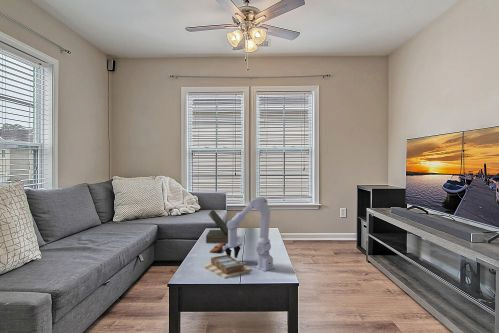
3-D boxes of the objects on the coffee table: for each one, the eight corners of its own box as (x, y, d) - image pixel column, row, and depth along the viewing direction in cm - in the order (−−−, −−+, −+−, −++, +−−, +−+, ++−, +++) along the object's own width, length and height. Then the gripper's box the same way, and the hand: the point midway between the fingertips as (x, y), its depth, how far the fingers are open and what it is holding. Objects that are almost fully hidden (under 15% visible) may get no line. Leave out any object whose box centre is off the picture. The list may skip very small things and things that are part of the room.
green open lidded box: (229, 243, 239) (229, 213, 239) (205, 243, 240) (205, 213, 240) (231, 236, 262) (231, 208, 262) (209, 236, 263) (210, 208, 262)
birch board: (251, 270, 180) (251, 268, 180) (224, 278, 167) (224, 276, 167) (228, 260, 198) (228, 258, 198) (202, 266, 185) (202, 265, 185)
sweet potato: (215, 245, 232) (220, 238, 231) (223, 250, 231) (227, 243, 230) (208, 252, 214) (213, 245, 213) (216, 258, 213) (221, 250, 212)
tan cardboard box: (243, 270, 176) (243, 264, 176) (225, 274, 170) (225, 268, 170) (227, 259, 195) (227, 254, 195) (210, 263, 189) (210, 257, 189)
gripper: (237, 235, 203) (237, 254, 203) (220, 238, 194) (220, 259, 194) (243, 237, 197) (243, 257, 197) (226, 240, 188) (226, 262, 188)
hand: (232, 258), depth 195 cm, fingers open, 5 cm apart
